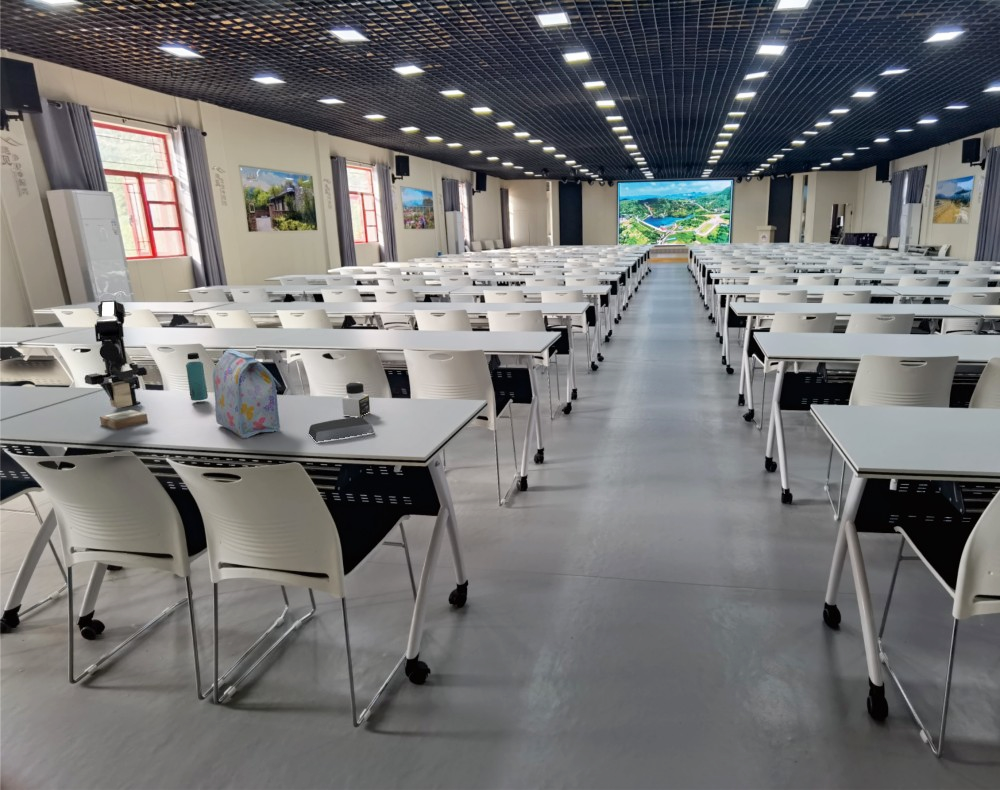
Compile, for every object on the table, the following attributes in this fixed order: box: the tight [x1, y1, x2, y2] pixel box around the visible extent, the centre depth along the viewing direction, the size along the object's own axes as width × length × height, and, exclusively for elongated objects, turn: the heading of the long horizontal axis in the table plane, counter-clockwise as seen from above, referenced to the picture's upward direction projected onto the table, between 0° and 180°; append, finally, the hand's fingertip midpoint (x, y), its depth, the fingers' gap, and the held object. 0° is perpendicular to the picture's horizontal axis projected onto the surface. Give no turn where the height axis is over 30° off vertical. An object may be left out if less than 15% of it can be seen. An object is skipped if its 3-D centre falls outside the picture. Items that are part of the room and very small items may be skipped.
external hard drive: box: [308, 416, 375, 442], centre depth 216 cm, size 13×19×4 cm
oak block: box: [109, 381, 133, 409], centre depth 231 cm, size 5×5×8 cm
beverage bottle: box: [185, 352, 209, 402], centre depth 258 cm, size 6×7×20 cm
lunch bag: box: [212, 348, 282, 439], centre depth 222 cm, size 22×17×26 cm
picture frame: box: [99, 409, 149, 430], centre depth 233 cm, size 11×11×3 cm
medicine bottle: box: [341, 381, 371, 417], centre depth 237 cm, size 7×7×12 cm
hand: (120, 398), depth 231 cm, fingers closed on oak block, 5 cm apart
